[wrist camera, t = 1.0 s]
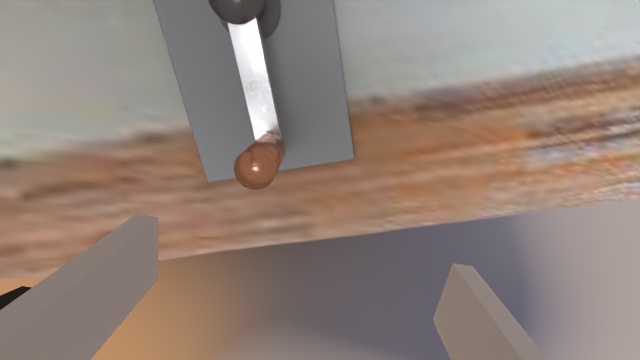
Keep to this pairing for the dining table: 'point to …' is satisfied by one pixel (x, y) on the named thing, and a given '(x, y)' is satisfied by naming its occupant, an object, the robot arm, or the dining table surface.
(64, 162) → the dining table surface
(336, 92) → the base
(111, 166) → the dining table surface
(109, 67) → the dining table surface
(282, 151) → the lever
